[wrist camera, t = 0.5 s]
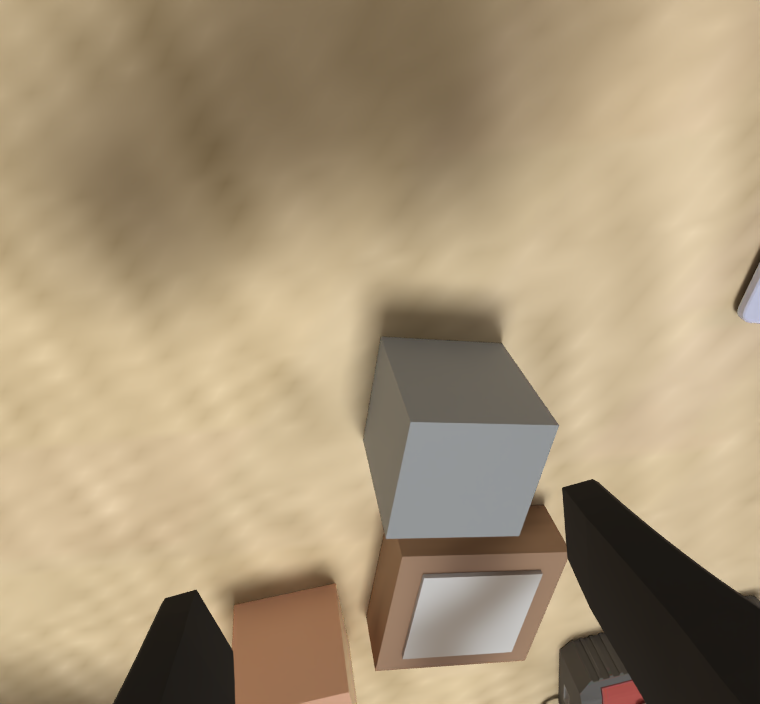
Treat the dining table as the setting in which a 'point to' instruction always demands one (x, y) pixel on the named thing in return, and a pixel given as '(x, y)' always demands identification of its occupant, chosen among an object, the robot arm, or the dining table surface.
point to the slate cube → (454, 439)
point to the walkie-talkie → (597, 673)
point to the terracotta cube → (292, 650)
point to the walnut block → (463, 596)
